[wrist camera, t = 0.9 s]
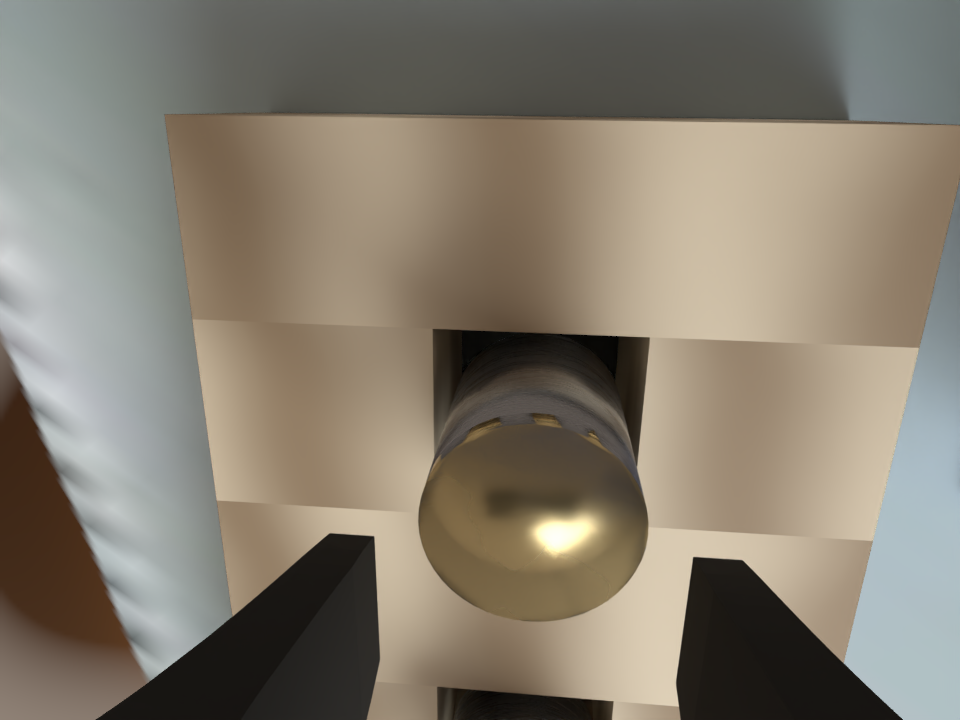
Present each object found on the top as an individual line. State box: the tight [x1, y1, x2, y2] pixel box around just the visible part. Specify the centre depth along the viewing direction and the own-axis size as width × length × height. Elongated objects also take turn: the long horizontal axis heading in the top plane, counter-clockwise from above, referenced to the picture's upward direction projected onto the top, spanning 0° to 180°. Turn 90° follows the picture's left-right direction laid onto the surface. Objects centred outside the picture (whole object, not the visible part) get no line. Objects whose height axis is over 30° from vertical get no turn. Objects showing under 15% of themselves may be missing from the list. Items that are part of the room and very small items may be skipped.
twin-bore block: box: [165, 113, 960, 720], centre depth 18 cm, size 14×21×5 cm, turn 179°
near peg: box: [418, 333, 649, 622], centre depth 13 cm, size 4×4×4 cm
